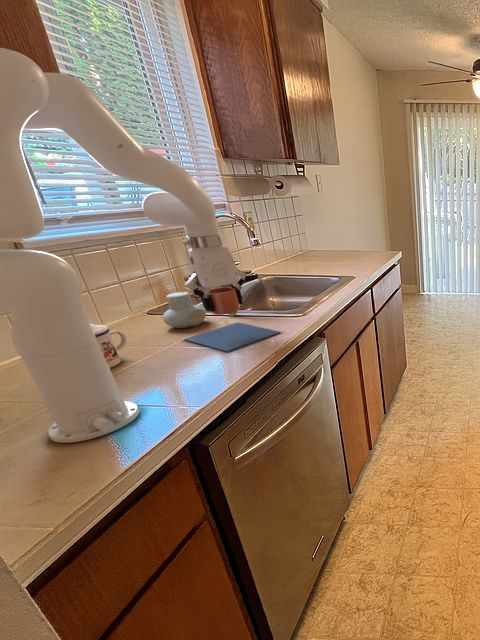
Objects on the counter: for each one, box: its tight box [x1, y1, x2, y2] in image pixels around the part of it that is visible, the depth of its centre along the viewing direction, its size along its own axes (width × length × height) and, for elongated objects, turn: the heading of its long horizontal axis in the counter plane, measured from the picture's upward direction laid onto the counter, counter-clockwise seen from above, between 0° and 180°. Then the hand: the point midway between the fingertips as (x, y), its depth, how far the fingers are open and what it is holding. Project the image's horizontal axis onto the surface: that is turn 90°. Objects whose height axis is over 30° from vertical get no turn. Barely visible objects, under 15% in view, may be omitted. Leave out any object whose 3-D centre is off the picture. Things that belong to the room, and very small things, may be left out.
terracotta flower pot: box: [209, 286, 241, 316], centre depth 111 cm, size 7×7×6 cm
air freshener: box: [162, 291, 207, 329], centre depth 123 cm, size 11×8×10 cm
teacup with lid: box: [90, 323, 127, 369], centre depth 97 cm, size 12×9×12 cm
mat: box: [183, 322, 281, 353], centre depth 115 cm, size 20×16×1 cm
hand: (224, 306), depth 112 cm, fingers closed on terracotta flower pot, 7 cm apart
